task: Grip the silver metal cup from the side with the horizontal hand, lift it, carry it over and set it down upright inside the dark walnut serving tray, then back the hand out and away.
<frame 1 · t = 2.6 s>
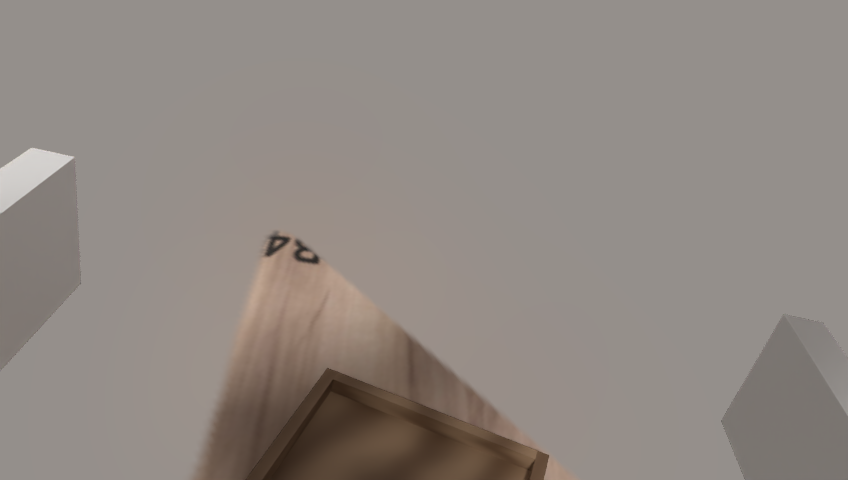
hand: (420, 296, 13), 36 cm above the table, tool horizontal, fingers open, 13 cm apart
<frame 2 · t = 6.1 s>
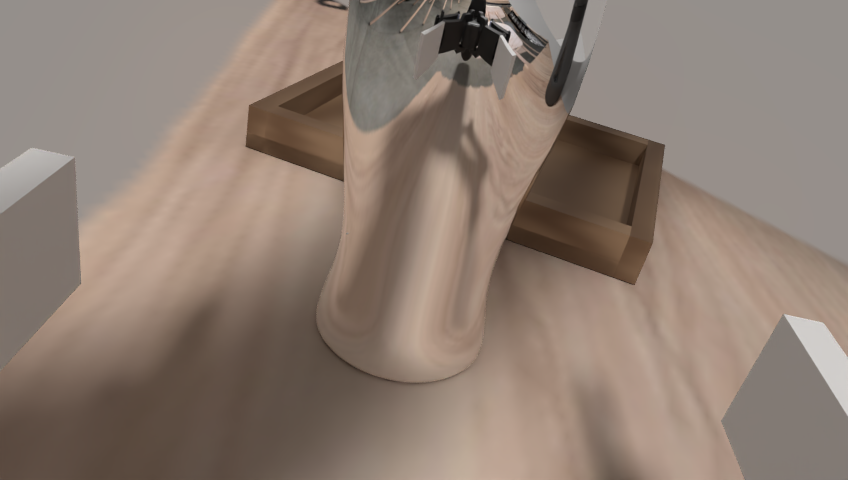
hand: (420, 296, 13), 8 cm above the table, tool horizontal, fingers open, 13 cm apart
walnut tray: (469, 163, 39), on the table
silver metal cup: (398, 330, 25), on the table
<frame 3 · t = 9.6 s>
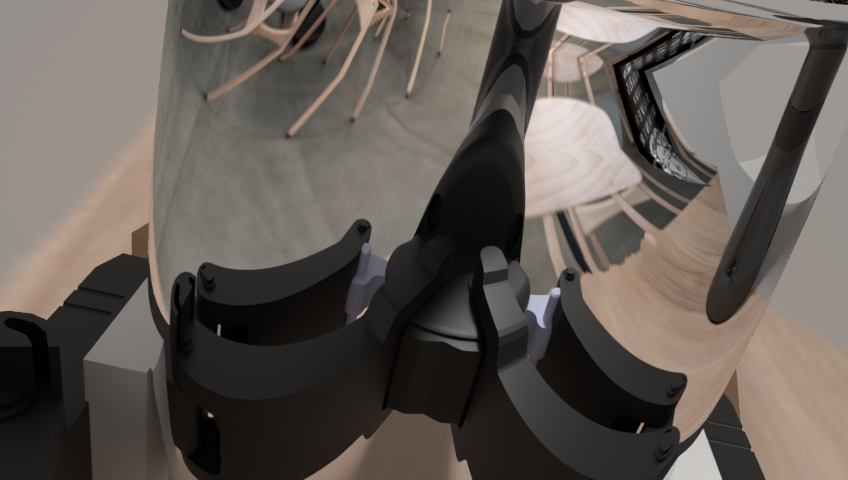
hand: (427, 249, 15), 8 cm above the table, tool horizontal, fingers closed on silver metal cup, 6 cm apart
walnut tray: (459, 290, 28), on the table
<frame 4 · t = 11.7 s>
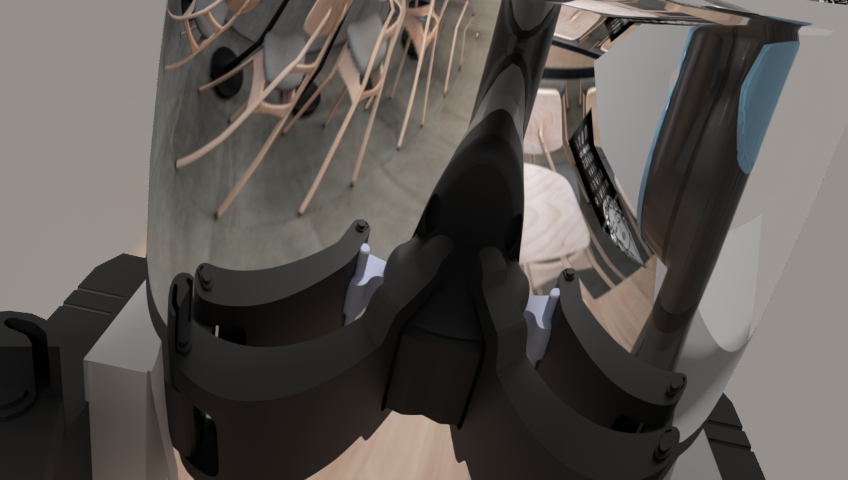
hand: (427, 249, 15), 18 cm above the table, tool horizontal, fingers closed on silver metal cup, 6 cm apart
when the fingers open (10 cm above the table, at t = 14.1 s): silver metal cup drops 2 cm, resting on walnut tray.
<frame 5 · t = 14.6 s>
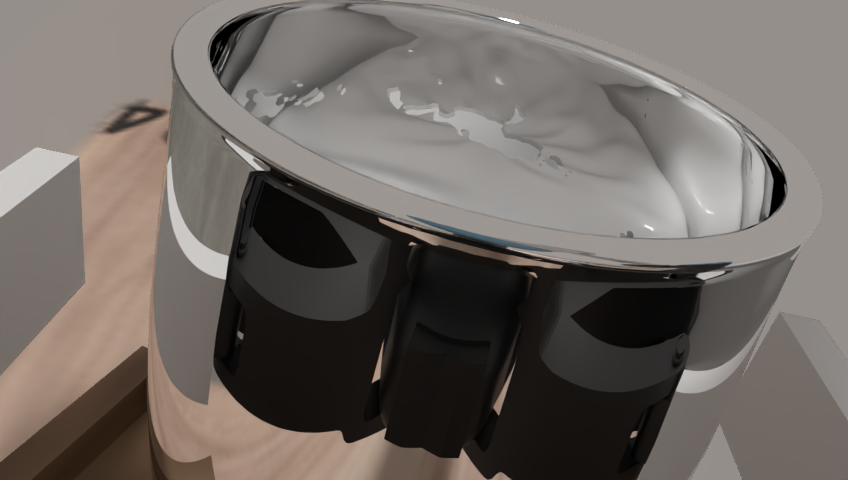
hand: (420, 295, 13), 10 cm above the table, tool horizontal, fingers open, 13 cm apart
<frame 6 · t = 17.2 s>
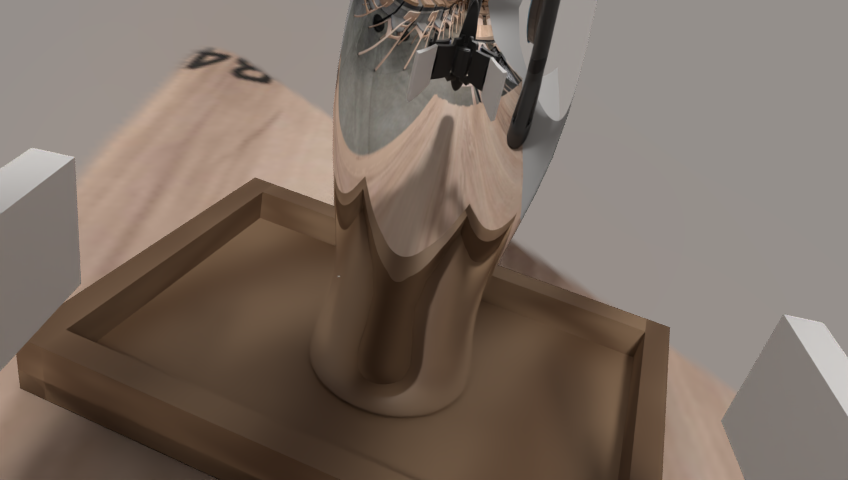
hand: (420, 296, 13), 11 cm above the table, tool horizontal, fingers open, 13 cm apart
walnut tray: (383, 375, 27), on the table
silver metal cup: (388, 363, 26), point 1 cm above the table, touching walnut tray
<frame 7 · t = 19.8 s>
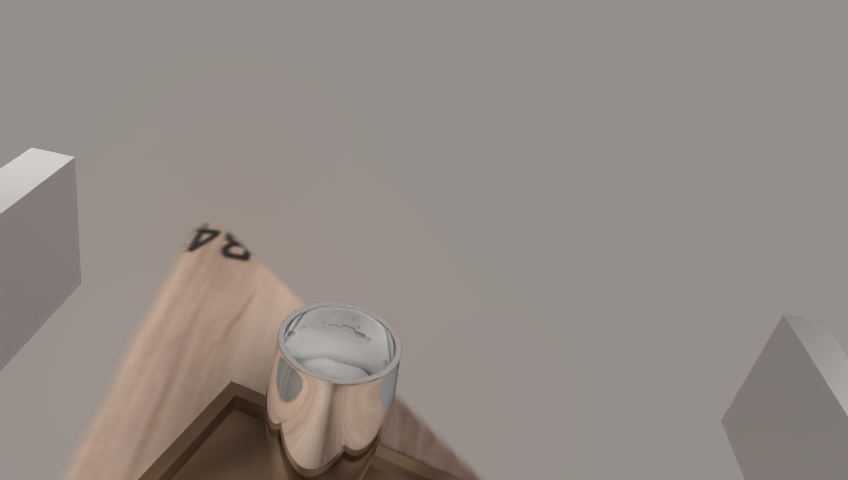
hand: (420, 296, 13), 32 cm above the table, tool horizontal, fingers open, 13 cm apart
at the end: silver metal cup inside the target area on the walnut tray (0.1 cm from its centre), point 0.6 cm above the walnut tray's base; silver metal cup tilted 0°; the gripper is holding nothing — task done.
